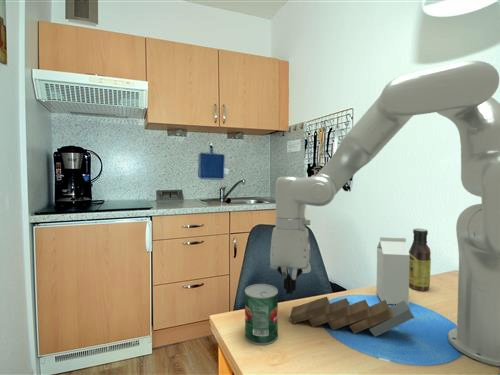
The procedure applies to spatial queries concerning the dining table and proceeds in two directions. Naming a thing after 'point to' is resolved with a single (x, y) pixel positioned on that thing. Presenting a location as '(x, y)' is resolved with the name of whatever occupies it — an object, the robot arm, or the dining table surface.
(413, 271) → the sauce bottle
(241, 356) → the dining table surface
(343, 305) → the walnut domino
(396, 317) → the charcoal domino
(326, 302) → the walnut domino
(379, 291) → the milk carton
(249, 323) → the canned tomato
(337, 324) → the walnut domino
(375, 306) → the walnut domino
